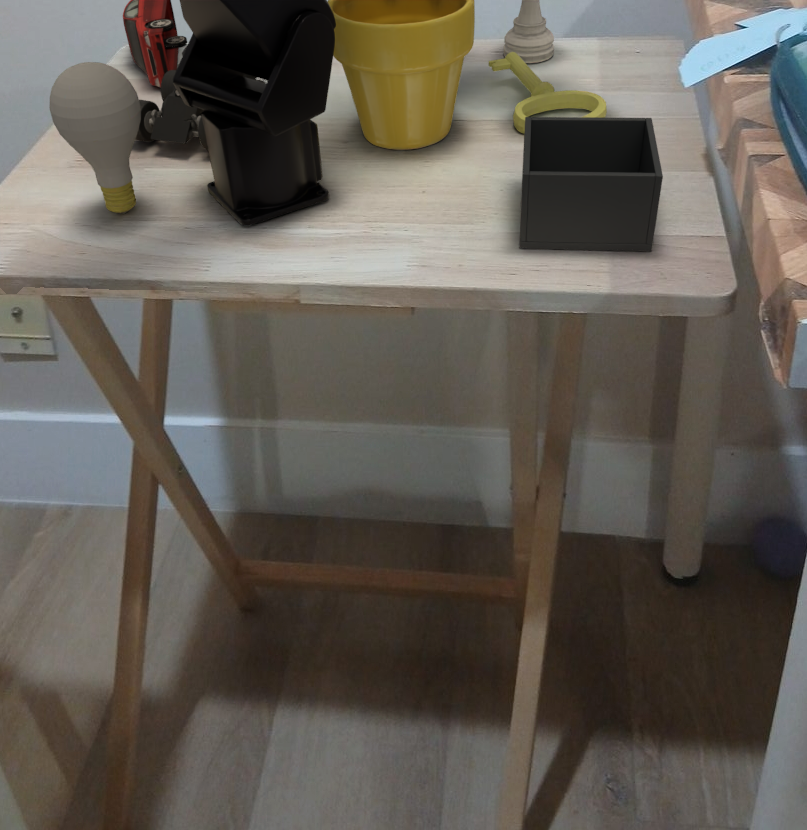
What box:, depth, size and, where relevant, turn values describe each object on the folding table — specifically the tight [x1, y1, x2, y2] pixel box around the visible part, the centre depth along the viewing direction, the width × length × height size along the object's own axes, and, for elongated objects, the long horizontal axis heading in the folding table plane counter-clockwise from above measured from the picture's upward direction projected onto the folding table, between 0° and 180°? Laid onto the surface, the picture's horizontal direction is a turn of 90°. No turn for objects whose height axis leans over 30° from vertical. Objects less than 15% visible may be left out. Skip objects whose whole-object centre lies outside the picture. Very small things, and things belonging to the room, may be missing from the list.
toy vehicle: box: [135, 45, 267, 151], centre depth 72 cm, size 8×15×9 cm, turn 159°
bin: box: [518, 116, 664, 252], centre depth 58 cm, size 8×8×5 cm
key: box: [488, 52, 608, 134], centre depth 72 cm, size 7×12×2 cm, turn 36°
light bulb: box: [49, 61, 141, 215], centre depth 60 cm, size 6×6×10 cm
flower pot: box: [327, 0, 476, 151], centre depth 68 cm, size 10×10×10 cm
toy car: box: [122, 0, 188, 89], centre depth 83 cm, size 6×15×5 cm
